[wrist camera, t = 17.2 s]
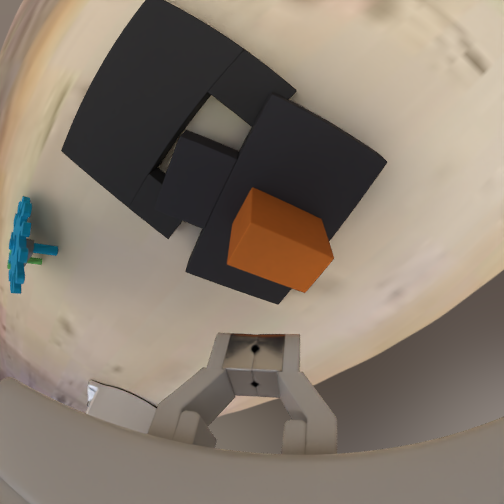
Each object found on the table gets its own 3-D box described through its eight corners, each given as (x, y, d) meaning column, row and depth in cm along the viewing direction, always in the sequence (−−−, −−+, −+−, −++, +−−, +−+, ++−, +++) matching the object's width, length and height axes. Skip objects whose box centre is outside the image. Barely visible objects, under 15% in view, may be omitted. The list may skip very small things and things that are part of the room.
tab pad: (277, 291, 24) (280, 345, 20) (146, 243, 21) (123, 294, 17) (379, 153, 16) (417, 191, 12) (213, 66, 13) (193, 69, 9)
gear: (25, 177, 19) (14, 282, 17) (74, 189, 24) (72, 287, 22) (7, 222, 25) (3, 302, 22) (45, 229, 30) (44, 305, 27)
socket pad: (174, 230, 22) (168, 239, 21) (72, 146, 19) (60, 151, 18) (296, 90, 16) (297, 90, 14) (160, -2, 12) (150, -7, 11)
